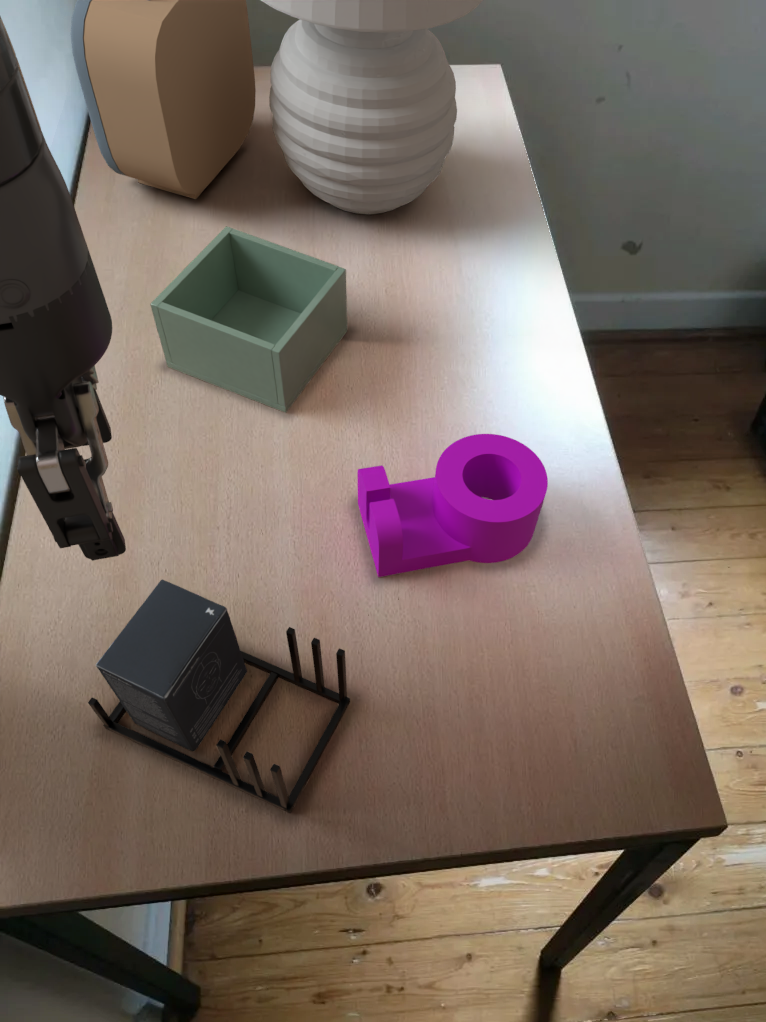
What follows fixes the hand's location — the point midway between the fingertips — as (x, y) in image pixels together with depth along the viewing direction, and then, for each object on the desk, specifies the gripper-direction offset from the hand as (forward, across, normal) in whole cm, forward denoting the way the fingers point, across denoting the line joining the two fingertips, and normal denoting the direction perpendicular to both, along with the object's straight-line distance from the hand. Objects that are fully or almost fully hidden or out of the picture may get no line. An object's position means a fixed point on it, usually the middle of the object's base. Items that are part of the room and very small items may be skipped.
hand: (100, 494), depth 47 cm
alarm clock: (+21, -67, +10) cm, 71 cm away
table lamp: (+21, -60, +31) cm, 70 cm away
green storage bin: (+21, -34, +13) cm, 42 cm away
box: (+21, +4, +1) cm, 22 cm away
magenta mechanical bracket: (+21, -7, +26) cm, 35 cm away
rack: (+21, +6, +4) cm, 22 cm away
